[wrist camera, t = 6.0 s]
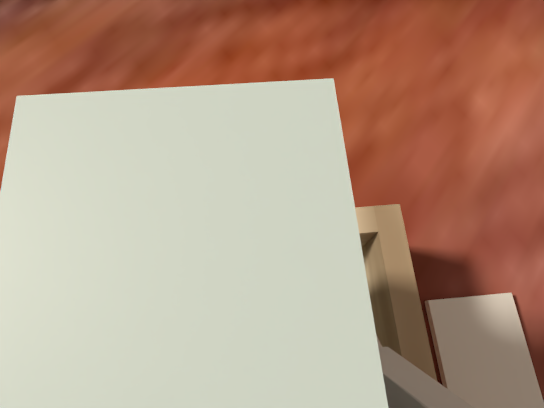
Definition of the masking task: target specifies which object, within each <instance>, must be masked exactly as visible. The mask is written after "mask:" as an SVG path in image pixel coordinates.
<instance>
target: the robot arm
mask: <svg viewBox="0 0 544 408" xmlns="http://www.w3.org/2000/svg"><path fill="white" fill-rule="evenodd" d="M376 336H377V335H376ZM377 342H378V348H379V354H380V360H381V366H382V372H383V378H384V384H385V390H386V396H387V402H388V408H474V407H472V406H471V405H470V404H468V403H467V402H465V401H464V400H463V399H461V398H460V397H458V396H457V395H455V394H454V393H453V392H451V391H450V390H448V389H447V388H446V387H444V386H443V385H441V384H440V383H438V382H437V381H436V380H434V379H433V378H431V377H430V376H429V375H427V374H426V373H424V372H423V371H422V370H420V369H419V368H417V367H416V366H414V365H413V364H412V363H410V362H409V361H407V360H406V359H405V358H403V357H402V356H400V355H399V354H397V353H396V352H395V351H393V350H392V349H390V348H389V347H382V346H381V344H380V341H379V339H378V337H377Z"/></svg>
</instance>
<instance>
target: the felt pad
mask: <svg viewBox="0 0 544 408" xmlns="http://www.w3.org/2000/svg"><path fill="white" fill-rule="evenodd" d="M424 302H425V307H426V312H427V316H428V321H429V325H430V330H431V335H432V339H433V344H434V349H435V353H436V358H437V362H438V367H439V372H440V376H441V381H442V385H443V386H444V387H446V388H447V389H448V390H450V391H451V392H453V393H454V394H455V395H457V396H458V397H460V398H461V399H463V400H464V401H465V402H467V403H468V404H470V405H471V406H472V407H474V408H544V401H543V398H542V394H541V391H540V387H539V384H538V381H537V377H536V374H535V370H534V367H533V364H532V360H531V357H530V353H529V350H528V347H527V343H526V340H525V336H524V333H523V330H522V326H521V323H520V319H519V316H518V313H517V309H516V306H515V302H514V299H513V296H512V293H503V294H492V295H481V296H470V297H459V298H448V299H437V300H427V301H424Z"/></svg>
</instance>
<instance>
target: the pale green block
mask: <svg viewBox="0 0 544 408" xmlns="http://www.w3.org/2000/svg"><path fill="white" fill-rule="evenodd" d="M0 408H388V402H387V396H386V390H385V384H384V378H383V372H382V366H381V360H380V354H379V348H378V342H377V336H376V330H375V324H374V318H373V312H372V307H371V301H370V295H369V289H368V283H367V277H366V271H365V265H364V259H363V253H362V247H361V241H360V235H359V229H358V223H357V217H356V211H355V205H354V199H353V193H352V187H351V181H350V175H349V169H348V163H347V157H346V151H345V145H344V139H343V133H342V127H341V121H340V115H339V109H338V103H337V97H336V91H335V85H334V79H333V78H332V79H314V80H296V81H278V82H260V83H242V84H224V85H206V86H188V87H170V88H152V89H134V90H116V91H98V92H80V93H62V94H44V95H26V96H17V98H16V103H15V109H14V115H13V121H12V127H11V133H10V139H9V145H8V150H7V156H6V162H5V168H4V174H3V180H2V186H1V192H0Z"/></svg>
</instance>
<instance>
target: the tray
mask: <svg viewBox="0 0 544 408" xmlns="http://www.w3.org/2000/svg"><path fill="white" fill-rule="evenodd" d="M355 211H356V217H357V223H358V229H359V235H360V241H361V247H362V253H363V259H364V265H365V271H366V277H367V283H368V289H369V295H370V301H371V307H372V312H373V318H374V324H375V330H376V335H377V337H378V339H379V341H380V344H381V346H382V347H389V348H390V349H392V350H393V351H395V352H396V353H397V354H399V355H400V356H402V357H403V358H405V359H406V360H407V361H409V362H410V363H412V364H413V365H414V366H416V367H417V368H419V369H420V370H422V371H423V372H424V373H426V374H427V375H429V376H430V377H431V378H433V379H434V380H436V381H437V377H436V373H435V368H434V363H433V359H432V354H431V349H430V345H429V340H428V335H427V330H426V326H425V321H424V316H423V312H422V307H421V302H420V298H419V293H418V288H417V283H416V279H415V274H414V269H413V265H412V260H411V255H410V251H409V246H408V241H407V236H406V232H405V227H404V222H403V218H402V213H401V208H400V204H394V205H382V206H370V207H358V208H355Z"/></svg>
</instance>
